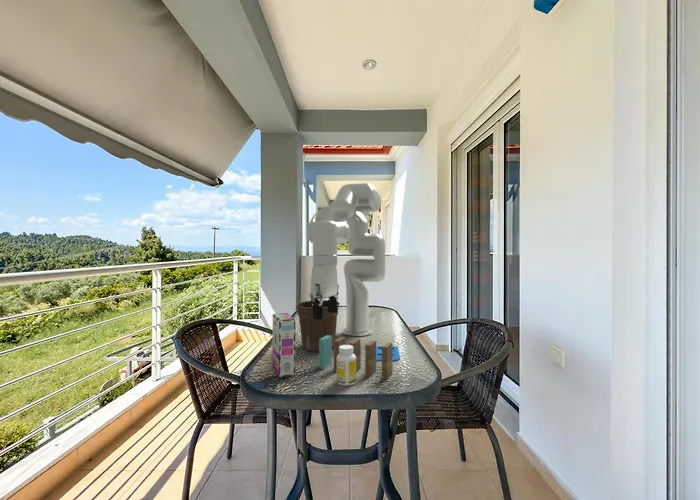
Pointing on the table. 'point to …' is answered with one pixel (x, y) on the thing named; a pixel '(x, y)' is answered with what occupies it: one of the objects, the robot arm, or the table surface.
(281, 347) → the candy bar box
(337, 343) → the walnut domino
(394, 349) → the handheld gaming device
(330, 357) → the domino teal end
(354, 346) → the walnut domino
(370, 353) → the walnut domino
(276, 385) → the table surface
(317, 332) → the plant pot
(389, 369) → the walnut domino
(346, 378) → the supplement bottle
